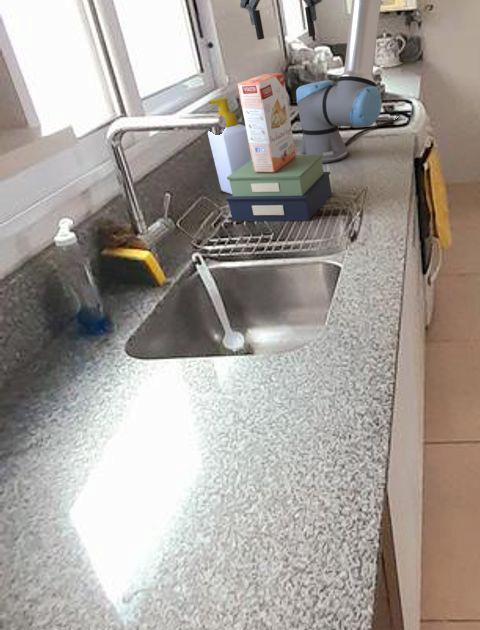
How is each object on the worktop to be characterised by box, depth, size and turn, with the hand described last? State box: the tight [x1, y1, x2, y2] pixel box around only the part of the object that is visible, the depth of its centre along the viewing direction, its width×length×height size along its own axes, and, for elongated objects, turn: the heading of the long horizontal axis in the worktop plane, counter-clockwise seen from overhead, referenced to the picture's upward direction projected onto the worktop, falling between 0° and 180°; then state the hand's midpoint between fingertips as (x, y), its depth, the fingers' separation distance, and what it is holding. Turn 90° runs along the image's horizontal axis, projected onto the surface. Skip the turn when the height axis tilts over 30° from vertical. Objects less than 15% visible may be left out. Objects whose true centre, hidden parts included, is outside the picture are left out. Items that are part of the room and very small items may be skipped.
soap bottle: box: [207, 97, 252, 195], centre depth 166 cm, size 9×9×25 cm
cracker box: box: [237, 72, 297, 173], centre depth 147 cm, size 14×6×21 cm, turn 169°
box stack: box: [225, 154, 333, 222], centre depth 155 cm, size 21×21×11 cm
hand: (286, 37), depth 152 cm, fingers open, 13 cm apart
